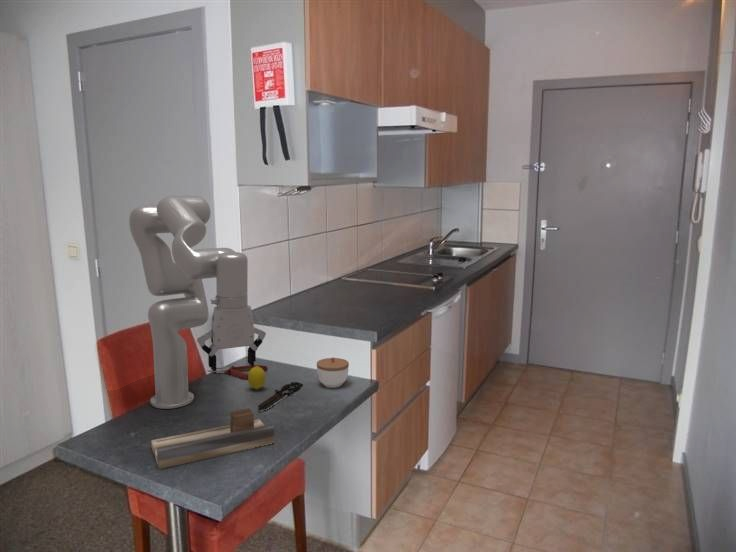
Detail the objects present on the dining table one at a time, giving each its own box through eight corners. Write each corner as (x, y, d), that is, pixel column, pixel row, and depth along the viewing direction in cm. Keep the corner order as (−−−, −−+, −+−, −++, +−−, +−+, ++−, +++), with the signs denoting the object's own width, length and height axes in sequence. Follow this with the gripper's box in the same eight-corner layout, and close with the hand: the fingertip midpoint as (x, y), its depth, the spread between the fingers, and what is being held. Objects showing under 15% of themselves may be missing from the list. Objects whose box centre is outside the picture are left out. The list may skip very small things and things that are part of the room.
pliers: (216, 367, 200) (215, 361, 199) (268, 371, 197) (268, 364, 196) (202, 378, 189) (201, 371, 188) (257, 382, 186) (257, 375, 185)
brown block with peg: (225, 426, 145) (225, 404, 144) (244, 422, 147) (243, 401, 146) (234, 439, 137) (234, 417, 136) (254, 435, 140) (253, 413, 139)
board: (150, 446, 138) (150, 429, 137) (258, 424, 151) (258, 409, 151) (159, 469, 127) (158, 451, 126) (274, 443, 140) (273, 427, 140)
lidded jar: (353, 382, 186) (354, 355, 184) (339, 392, 176) (339, 364, 175) (326, 377, 190) (326, 351, 189) (310, 387, 181) (310, 360, 179)
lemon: (265, 392, 175) (264, 368, 174) (247, 393, 175) (247, 369, 173) (265, 386, 181) (265, 363, 180) (248, 386, 180) (248, 363, 179)
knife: (262, 415, 159) (262, 410, 159) (244, 411, 161) (244, 406, 161) (308, 387, 181) (308, 383, 181) (291, 384, 184) (291, 380, 184)
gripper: (200, 308, 129) (201, 376, 132) (270, 302, 137) (269, 367, 140) (193, 301, 135) (194, 366, 138) (260, 296, 144) (260, 358, 147)
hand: (232, 366), depth 139 cm, fingers open, 9 cm apart
